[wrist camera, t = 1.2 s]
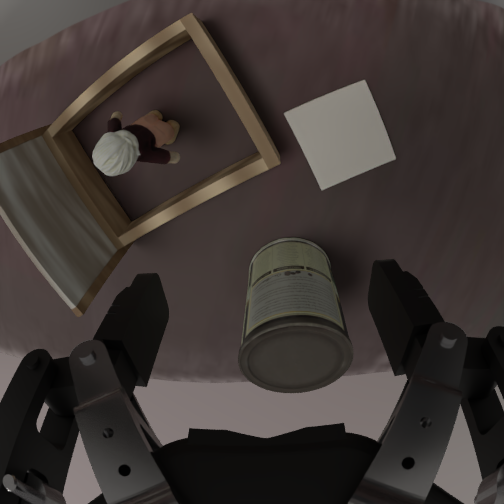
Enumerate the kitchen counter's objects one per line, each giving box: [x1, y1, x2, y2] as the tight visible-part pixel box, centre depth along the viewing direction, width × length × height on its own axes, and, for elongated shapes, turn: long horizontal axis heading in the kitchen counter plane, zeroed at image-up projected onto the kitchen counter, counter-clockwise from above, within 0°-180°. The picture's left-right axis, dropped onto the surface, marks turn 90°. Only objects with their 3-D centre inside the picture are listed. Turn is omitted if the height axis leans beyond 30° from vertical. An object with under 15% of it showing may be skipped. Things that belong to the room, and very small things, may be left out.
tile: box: [284, 80, 396, 190], centre depth 28 cm, size 9×9×1 cm
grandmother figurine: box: [92, 110, 180, 176], centre depth 23 cm, size 8×4×13 cm, turn 64°
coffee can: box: [238, 238, 353, 393], centre depth 31 cm, size 10×10×14 cm
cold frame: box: [0, 13, 281, 317], centre depth 23 cm, size 21×18×14 cm
